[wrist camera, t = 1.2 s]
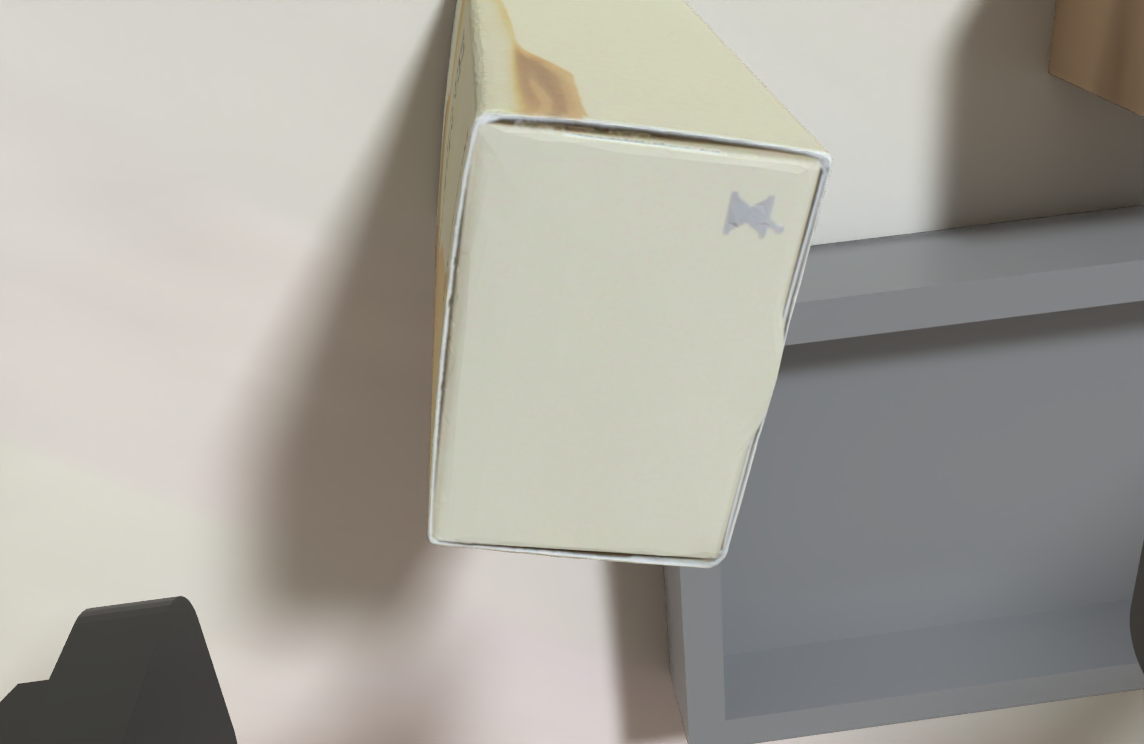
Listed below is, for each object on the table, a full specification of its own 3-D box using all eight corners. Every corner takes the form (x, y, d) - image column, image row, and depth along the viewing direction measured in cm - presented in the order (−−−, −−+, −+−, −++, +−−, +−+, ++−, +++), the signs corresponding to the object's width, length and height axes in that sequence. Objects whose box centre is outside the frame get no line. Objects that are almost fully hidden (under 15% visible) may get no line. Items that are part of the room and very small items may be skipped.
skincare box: (460, -60, 22) (466, 75, 12) (666, -29, 23) (852, 124, 12) (431, 235, 25) (414, 560, 15) (615, 255, 26) (729, 580, 15)
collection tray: (1448, 168, 27) (1556, 208, 24) (1325, 584, 33) (1401, 652, 30) (644, 265, 26) (665, 319, 24) (670, 673, 32) (689, 752, 30)
